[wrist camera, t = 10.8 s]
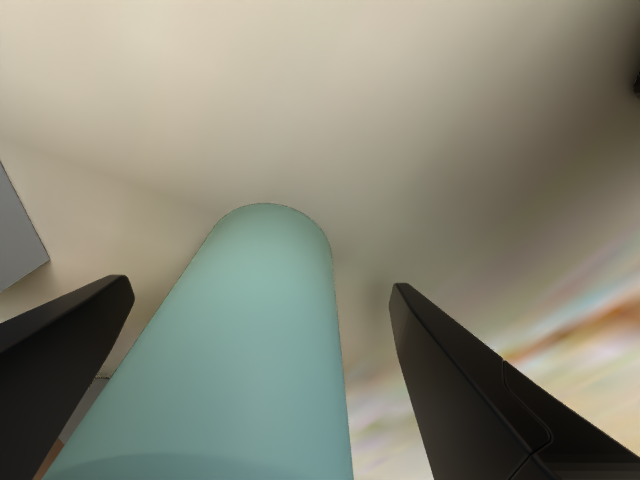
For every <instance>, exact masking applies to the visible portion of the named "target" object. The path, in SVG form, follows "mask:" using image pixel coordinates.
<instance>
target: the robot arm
mask: <svg viewBox="0 0 640 480" xmlns="http://www.w3.org/2000/svg"><path fill="white" fill-rule="evenodd" d="M634 94H635V95H636V96H637V98H640V72H639V74H638V76H637V78H636V81H635V84H634ZM134 301H135V296H134V293H133V290H132V287H131V284H130V282H129V279H128V277H127V276H125V275H108V276H106V277H104V278H102V279H99V280H97V281H95V282H93V283H90V284H88V285H86V286H84V287H81V288H79V289H77V290H75V291H72V292H70V293H68V294H66V295H63V296H61V297H59V298H57V299H54V300H52V301H50V302H48V303H45V304H43V305H41V306H39V307H36V308H34V309H32V310H30V311H27V312H25V313H23V314H21V315H18V316H16V317H14V318H12V319H9V320H7V321H5V322H3V323H0V480H33V478H34V477H35V475H36V473H37V472H38V470H39V468H40V467H41V465H42V463H43V462H44V460H45V458H46V457H47V455H48V454H49V452H50V450H51V449H52V447H53V445H54V444H55V442H56V440H57V439H58V437H59V435H60V434H61V432H62V431H63V429H64V427H65V426H66V424H67V422H68V421H69V419H70V417H71V416H72V414H73V412H74V411H75V409H76V408H77V406H78V404H79V403H80V401H81V399H82V398H83V396H84V394H85V393H86V391H87V389H88V388H89V386H90V384H91V383H92V381H93V380H94V378H95V376H96V375H97V373H98V371H99V370H100V368H101V366H102V365H103V363H104V361H105V360H106V358H107V357H108V355H109V353H110V351H111V350H112V348H113V346H114V344H115V342H116V340H117V338H118V336H119V334H120V332H121V329H122V327H123V325H124V323H125V321H126V319H127V317H128V315H129V313H130V311H131V308H132V306H133V304H134ZM389 311H390V317H391V323H392V328H393V334H394V340H395V346H396V351H397V355H398V359H399V363H400V366H401V369H402V373H403V376H404V380H405V383H406V386H407V390H408V393H409V396H410V400H411V403H412V406H413V410H414V413H415V417H416V420H417V423H418V427H419V430H420V433H421V437H422V440H423V444H424V447H425V450H426V454H427V457H428V460H429V464H430V467H431V470H432V474H433V477H434V480H640V457H639V456H637V455H636V454H634V453H633V452H632V451H630V450H629V449H627V448H626V447H624V446H623V445H621V444H620V443H619V442H617V441H616V440H614V439H613V438H611V437H610V436H609V435H607V434H606V433H604V432H603V431H601V430H600V429H599V428H597V427H596V426H594V425H593V424H591V423H590V422H589V421H587V420H586V419H584V418H583V417H581V416H580V415H579V414H577V413H576V412H574V411H573V410H571V409H570V408H568V407H567V406H566V405H564V404H563V403H561V402H560V401H559V400H557V399H556V398H555V397H553V396H552V395H550V394H549V393H548V392H546V391H545V390H543V389H542V388H541V387H539V386H538V385H537V384H535V383H534V382H533V381H531V380H530V379H529V378H528V377H526V376H525V375H524V374H522V373H521V372H520V371H518V370H517V369H516V368H515V367H513V366H512V365H511V364H510V363H508V362H507V361H503V358H502V357H501V356H499V355H498V354H497V353H496V352H494V351H493V350H492V349H490V348H489V347H488V346H487V345H485V344H484V343H483V342H482V341H480V340H479V339H478V338H477V337H475V336H474V335H473V334H471V333H470V332H469V331H468V330H466V329H465V328H464V327H463V326H461V325H460V324H459V323H458V322H456V321H455V320H454V319H452V318H451V317H450V316H449V315H447V314H446V313H445V312H444V311H442V310H441V309H440V308H439V307H437V306H436V305H435V304H434V303H432V302H431V301H430V300H428V299H427V298H426V297H425V296H423V295H422V294H421V293H420V292H418V291H417V290H416V289H415V288H413V287H412V286H411V285H409V284H408V283H395V284H394V285H393V288H392V292H391V297H390V301H389Z"/></svg>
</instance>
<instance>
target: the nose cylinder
mask: <svg viewBox="0 0 640 480" xmlns="http://www.w3.org/2000/svg"><path fill="white" fill-rule="evenodd" d="M41 480H354V478H353V468H352V458H351V447H350V437H349V427H348V417H347V406H346V396H345V386H344V376H343V365H342V355H341V345H340V335H339V324H338V314H337V304H336V294H335V283H334V273H333V263H332V254H331V248H330V245H329V242H328V240H327V238H326V236H325V234H324V233H323V231H322V230H321V229H320V228H319V226H318V225H317V224H316V223H315V222H314V221H312V220H311V219H310V218H309V217H307V216H306V215H304V214H303V213H301V212H299V211H297V210H295V209H292V208H290V207H287V206H283V205H278V204H271V203H258V204H251V205H247V206H243V207H240V208H238V209H236V210H233V211H232V212H230V213H228V214H227V215H225V216H224V217H223V218H222V219H221V220H220V221H219V222H218V223H217V224H216V225H215V227H214V228H213V230H212V231H211V233H210V234H209V236H208V237H207V238H206V240H205V241H204V243H203V244H202V246H201V247H200V249H199V250H198V252H197V253H196V254H195V256H194V257H193V259H192V260H191V262H190V263H189V265H188V266H187V268H186V269H185V271H184V272H183V273H182V275H181V276H180V278H179V279H178V281H177V282H176V284H175V285H174V287H173V288H172V289H171V291H170V292H169V294H168V295H167V297H166V298H165V300H164V301H163V303H162V304H161V306H160V307H159V308H158V310H157V311H156V313H155V314H154V316H153V317H152V319H151V320H150V322H149V323H148V324H147V326H146V327H145V329H144V330H143V332H142V333H141V335H140V336H139V338H138V339H137V341H136V342H135V343H134V345H133V346H132V348H131V349H130V351H129V352H128V354H127V355H126V357H125V358H124V359H123V361H122V362H121V364H120V365H119V367H118V368H117V370H116V371H115V373H114V374H113V376H112V377H111V378H110V380H109V381H108V383H107V384H106V386H105V387H104V389H103V390H102V392H101V393H100V394H99V396H98V397H97V399H96V400H95V402H94V403H93V405H92V406H91V408H90V409H89V411H88V412H87V413H86V415H85V416H84V418H83V419H82V421H81V422H80V424H79V425H78V427H77V428H76V429H75V431H74V432H73V434H72V435H71V437H70V438H69V440H68V441H67V443H66V444H65V446H64V447H63V448H62V450H61V451H60V453H59V454H58V456H57V457H56V459H55V460H54V462H53V463H52V464H51V466H50V467H49V469H48V470H47V472H46V473H45V475H44V476H43V478H42V479H41Z"/></svg>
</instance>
